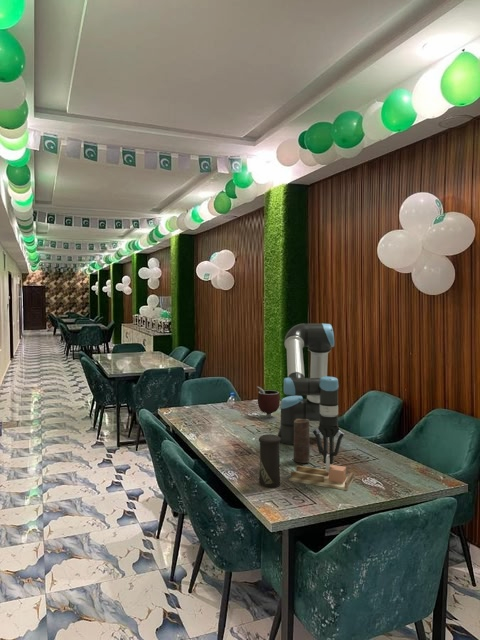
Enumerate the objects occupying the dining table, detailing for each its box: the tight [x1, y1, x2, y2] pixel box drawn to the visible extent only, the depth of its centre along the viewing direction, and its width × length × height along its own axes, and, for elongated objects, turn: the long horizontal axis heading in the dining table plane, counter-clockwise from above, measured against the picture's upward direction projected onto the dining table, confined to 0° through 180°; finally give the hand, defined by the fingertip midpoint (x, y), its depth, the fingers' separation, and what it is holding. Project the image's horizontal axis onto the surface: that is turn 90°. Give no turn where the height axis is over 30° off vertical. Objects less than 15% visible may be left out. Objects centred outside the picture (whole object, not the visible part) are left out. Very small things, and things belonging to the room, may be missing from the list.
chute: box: [288, 464, 354, 491], centre depth 192 cm, size 24×12×3 cm, turn 65°
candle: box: [293, 419, 311, 464], centre depth 213 cm, size 8×7×20 cm
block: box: [329, 464, 347, 483], centre depth 189 cm, size 6×5×5 cm
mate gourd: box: [256, 386, 281, 422], centre depth 291 cm, size 16×14×20 cm
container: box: [258, 434, 281, 489], centre depth 188 cm, size 9×9×20 cm
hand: (328, 471), depth 191 cm, fingers closed
